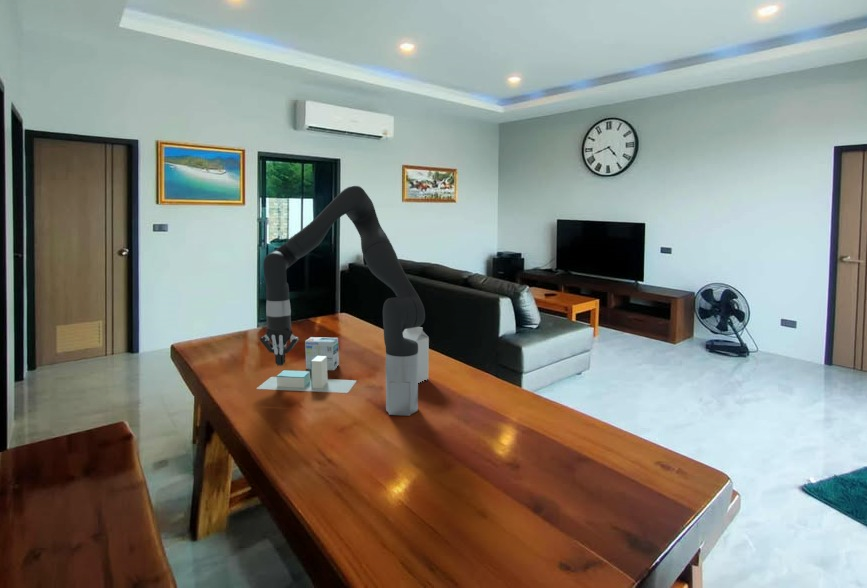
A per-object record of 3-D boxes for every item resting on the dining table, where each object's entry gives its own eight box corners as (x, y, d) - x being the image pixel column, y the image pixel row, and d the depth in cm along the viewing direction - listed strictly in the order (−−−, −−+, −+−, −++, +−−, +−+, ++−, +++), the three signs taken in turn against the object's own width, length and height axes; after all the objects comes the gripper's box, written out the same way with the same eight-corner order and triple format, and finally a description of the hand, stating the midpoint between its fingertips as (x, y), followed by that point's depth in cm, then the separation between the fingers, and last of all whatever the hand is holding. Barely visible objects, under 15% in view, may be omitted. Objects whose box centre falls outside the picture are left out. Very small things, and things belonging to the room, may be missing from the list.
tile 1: (277, 386, 168) (304, 387, 167) (276, 376, 167) (303, 377, 166) (284, 380, 173) (310, 381, 173) (283, 370, 173) (309, 371, 172)
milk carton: (415, 385, 170) (415, 329, 167) (399, 381, 175) (399, 326, 171) (428, 379, 176) (429, 325, 173) (412, 375, 180) (412, 322, 177)
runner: (347, 393, 162) (347, 392, 162) (256, 389, 165) (256, 388, 165) (357, 380, 174) (356, 380, 174) (271, 377, 177) (271, 376, 177)
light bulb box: (339, 365, 191) (338, 337, 189) (334, 371, 185) (333, 341, 183) (311, 364, 192) (310, 336, 190) (305, 369, 186) (304, 340, 184)
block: (322, 388, 166) (321, 361, 165) (311, 387, 166) (310, 360, 165) (327, 382, 172) (326, 356, 171) (317, 381, 172) (316, 355, 171)
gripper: (253, 315, 163) (256, 367, 166) (294, 316, 162) (296, 369, 165) (263, 310, 171) (265, 360, 174) (302, 311, 170) (304, 362, 172)
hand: (280, 364), depth 169 cm, fingers closed
